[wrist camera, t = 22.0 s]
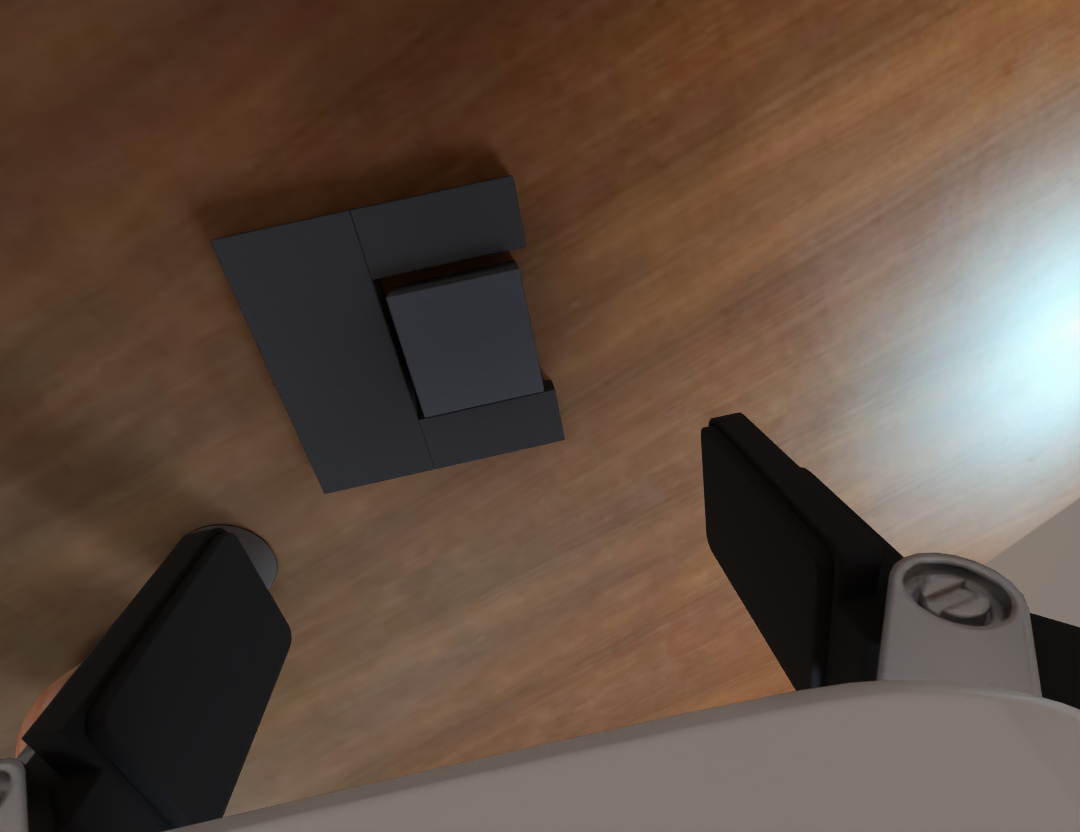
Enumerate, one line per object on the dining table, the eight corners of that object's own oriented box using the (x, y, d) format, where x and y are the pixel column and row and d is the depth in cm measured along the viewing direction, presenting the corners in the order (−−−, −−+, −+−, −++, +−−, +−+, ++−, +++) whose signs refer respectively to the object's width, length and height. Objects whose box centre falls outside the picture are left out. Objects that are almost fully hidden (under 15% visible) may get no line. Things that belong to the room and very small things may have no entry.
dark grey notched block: (223, 237, 25) (209, 240, 23) (510, 175, 25) (512, 174, 23) (331, 480, 31) (324, 494, 29) (561, 428, 31) (565, 440, 29)
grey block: (393, 286, 26) (385, 297, 24) (515, 260, 26) (519, 268, 24) (428, 399, 29) (424, 418, 27) (539, 374, 29) (544, 391, 27)
